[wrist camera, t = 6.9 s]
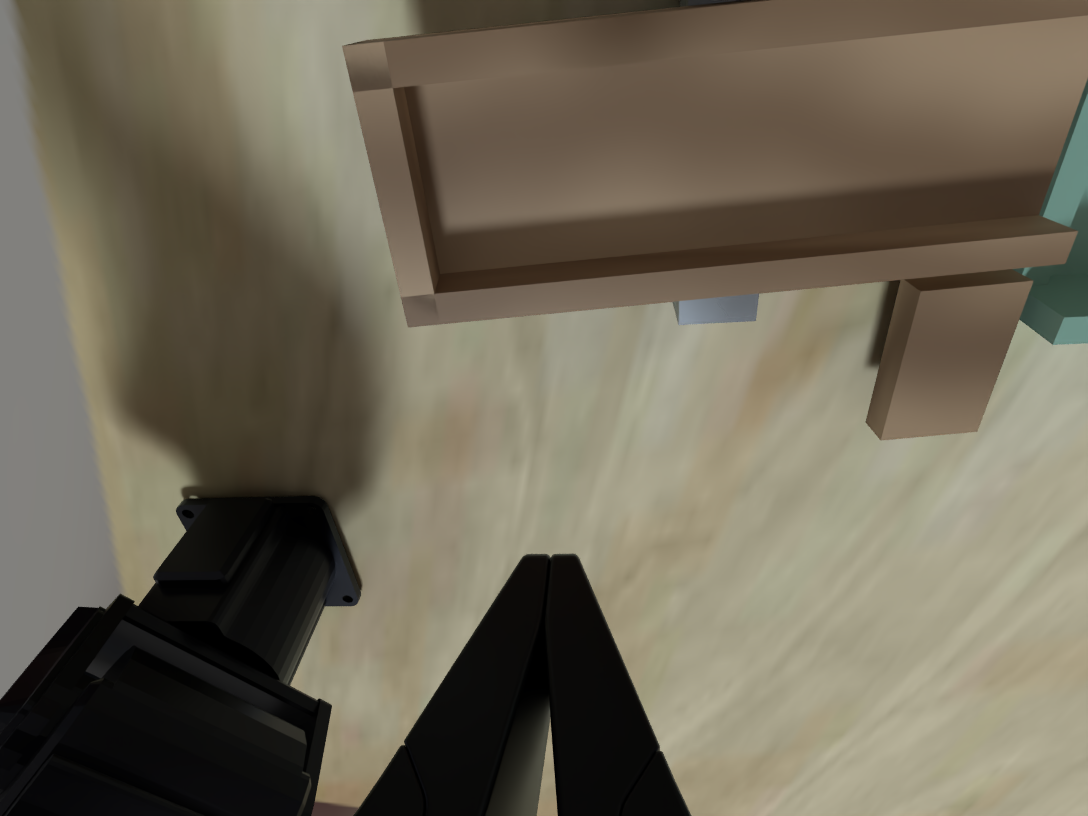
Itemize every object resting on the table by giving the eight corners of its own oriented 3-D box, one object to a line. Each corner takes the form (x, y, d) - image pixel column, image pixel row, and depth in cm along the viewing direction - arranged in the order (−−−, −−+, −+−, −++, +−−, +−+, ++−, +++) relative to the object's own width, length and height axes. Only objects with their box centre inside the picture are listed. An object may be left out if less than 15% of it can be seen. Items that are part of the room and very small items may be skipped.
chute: (957, 413, 20) (1004, 457, 18) (456, 459, 20) (450, 507, 18) (1115, -39, 13) (1215, -48, 11) (367, 40, 14) (342, 46, 12)
